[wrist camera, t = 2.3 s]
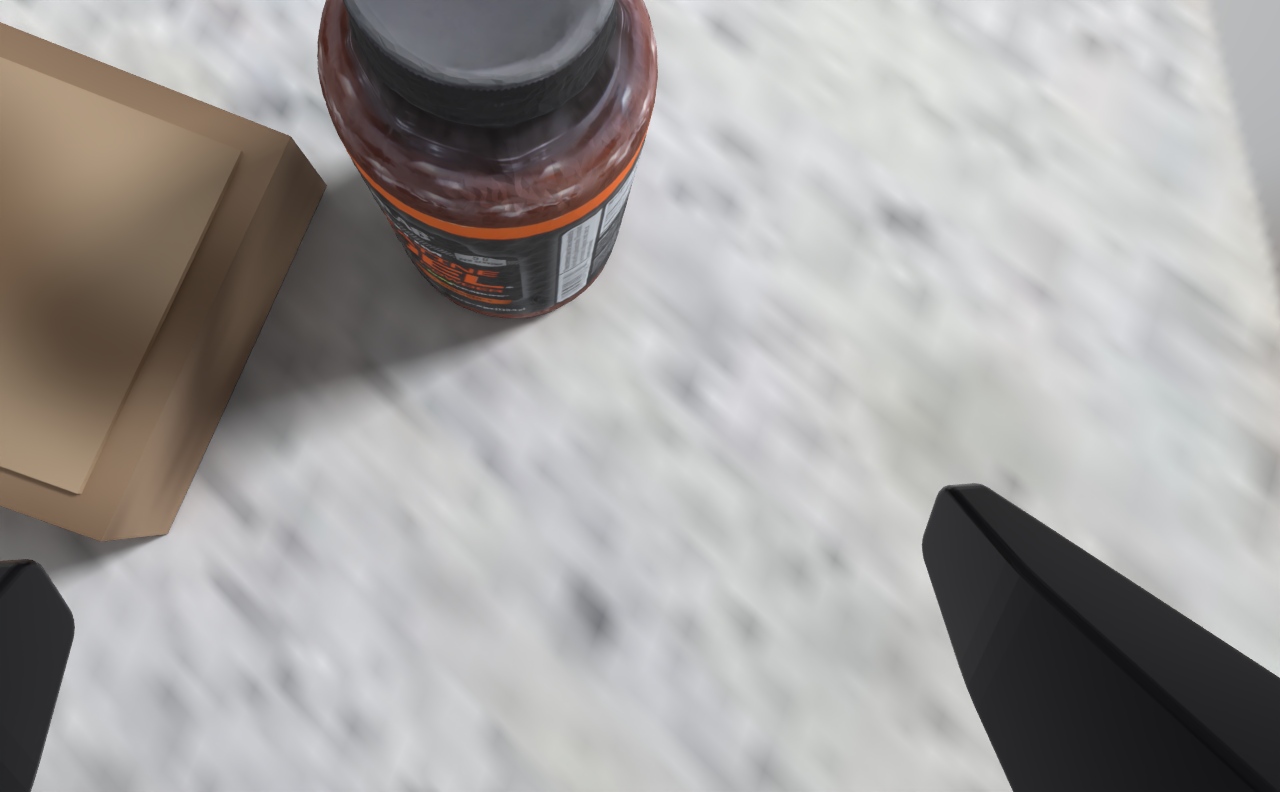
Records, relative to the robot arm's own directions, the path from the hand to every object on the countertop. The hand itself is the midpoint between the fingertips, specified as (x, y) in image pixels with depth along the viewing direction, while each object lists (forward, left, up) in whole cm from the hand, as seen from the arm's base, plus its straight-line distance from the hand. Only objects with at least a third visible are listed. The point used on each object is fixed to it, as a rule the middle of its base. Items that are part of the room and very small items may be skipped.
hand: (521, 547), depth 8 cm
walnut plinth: (+1, +14, -13) cm, 19 cm away
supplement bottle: (+7, +4, -13) cm, 16 cm away
